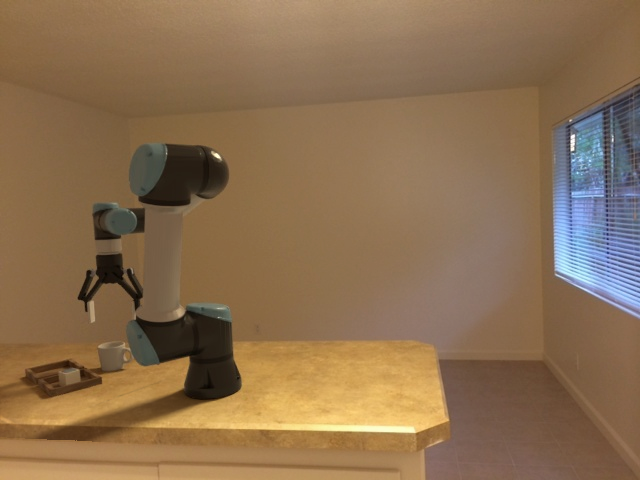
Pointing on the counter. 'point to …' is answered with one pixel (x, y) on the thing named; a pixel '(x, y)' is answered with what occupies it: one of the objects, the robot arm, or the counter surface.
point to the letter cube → (69, 376)
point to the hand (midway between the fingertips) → (113, 321)
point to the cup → (113, 356)
